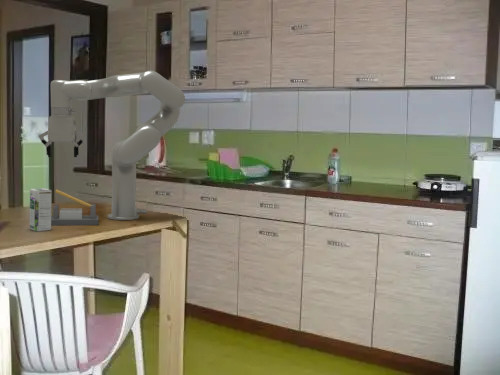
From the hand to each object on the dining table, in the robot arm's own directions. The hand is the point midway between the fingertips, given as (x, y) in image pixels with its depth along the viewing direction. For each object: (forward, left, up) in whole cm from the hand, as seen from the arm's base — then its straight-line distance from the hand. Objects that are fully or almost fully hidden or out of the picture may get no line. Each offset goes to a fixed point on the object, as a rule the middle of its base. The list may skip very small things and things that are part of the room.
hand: (62, 156), depth 209 cm
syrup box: (+6, +21, -25) cm, 33 cm away
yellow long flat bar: (-5, +8, -16) cm, 19 cm away
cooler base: (-5, +8, -25) cm, 26 cm away
